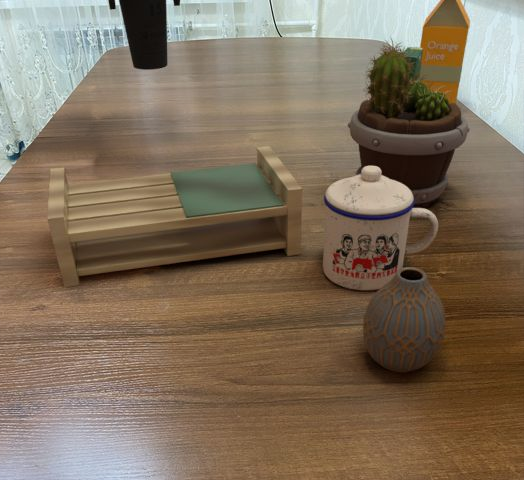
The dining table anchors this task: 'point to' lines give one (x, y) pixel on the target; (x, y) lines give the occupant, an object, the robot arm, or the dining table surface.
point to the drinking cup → (146, 32)
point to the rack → (173, 217)
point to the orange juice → (444, 47)
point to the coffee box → (414, 60)
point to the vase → (404, 322)
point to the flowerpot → (407, 128)
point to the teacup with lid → (369, 229)
